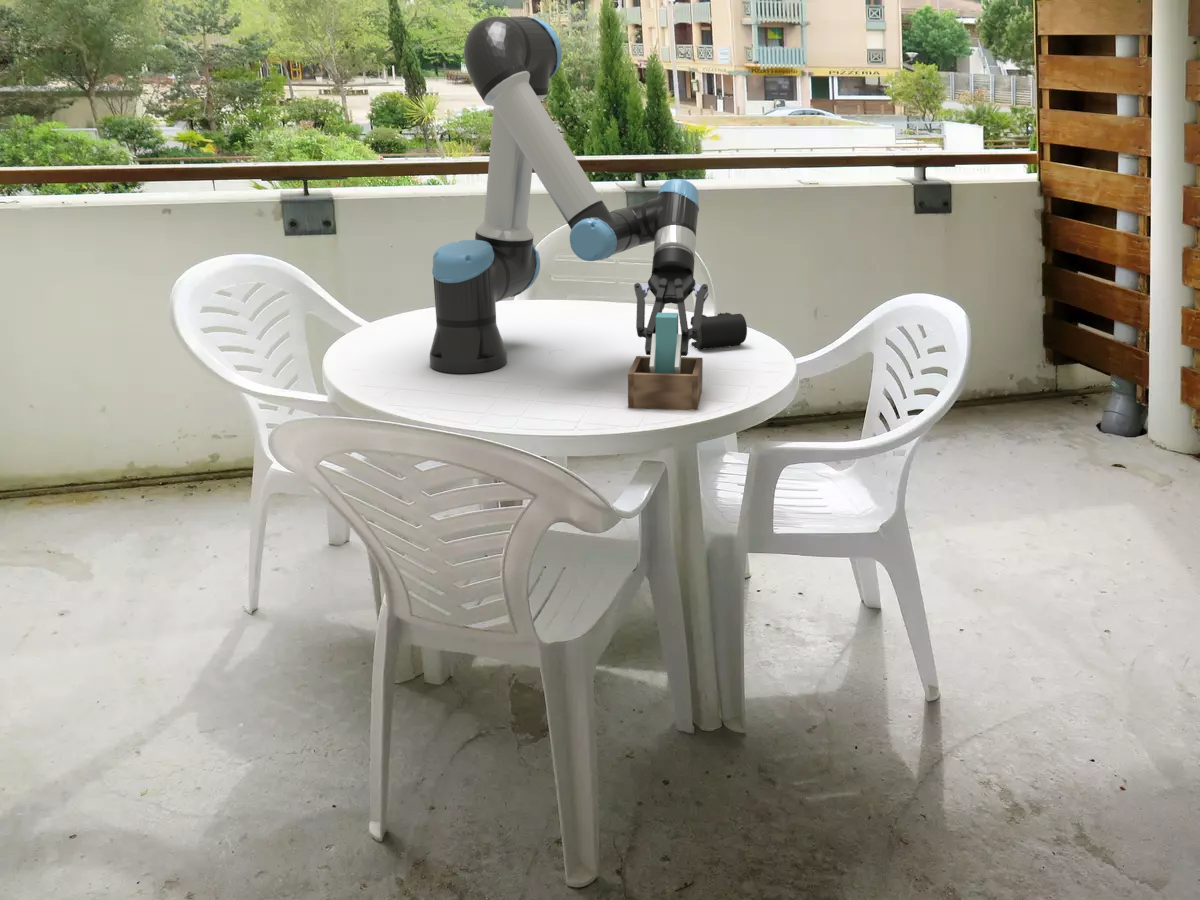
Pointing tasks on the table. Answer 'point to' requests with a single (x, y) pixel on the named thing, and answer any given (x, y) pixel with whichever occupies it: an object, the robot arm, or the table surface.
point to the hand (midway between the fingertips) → (664, 370)
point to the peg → (666, 342)
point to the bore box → (665, 385)
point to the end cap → (721, 331)
